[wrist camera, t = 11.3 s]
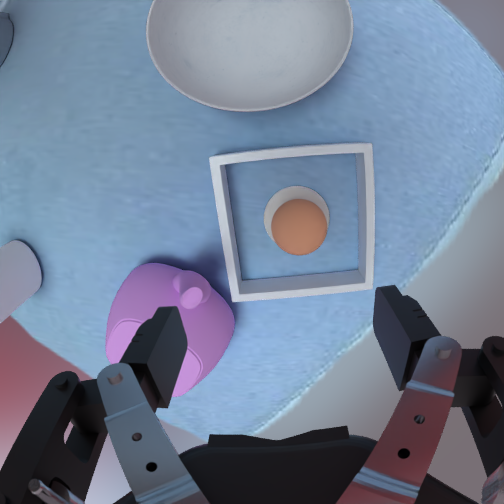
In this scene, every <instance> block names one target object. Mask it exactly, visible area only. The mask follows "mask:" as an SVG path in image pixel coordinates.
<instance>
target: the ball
mask: <svg viewBox="0 0 504 504" xmlns="http://www.w3.org/2000/svg"><path fill="white" fill-rule="evenodd" d="M271 231H272V236H273V238H274V240H275V242H276V244H277V245H278V246H279V247H280V248H281V249H282V250H284V251H285V252H287V253H290V254H293V255H306V254H309V253H311V252H313V251H315V250H316V249H318V248H319V247H320V245H321V244H322V243H323V241H324V239H325V237H326V234H327V221H326V217H325V215H324V213H323V211H322V210H321V209H320V208H319V207H318V206H317V205H316V204H315V203H313V202H311V201H309V200H305V199H293V200H289V201H287V202H285V203H284V204H282V205H281V206H280V207H279V208H278V209H277V210H276V212H275V213H274V215H273V218H272V222H271Z"/></svg>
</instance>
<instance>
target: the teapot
mask: <svg viewBox="0 0 504 504" xmlns="http://www.w3.org/2000/svg"><path fill="white" fill-rule="evenodd" d="M164 306H177V307H178V309H179V312H180V316H181V319H182V322H183V326H184V329H185V332H186V336H187V342H188V346H187V352H186V355H185V358H184V361H183V364H182V367H181V370H180V373H179V376H178V379H177V382H176V385H175V388H174V391H173V394H172V397H177V396H181V395H183V394H185V393H186V392H188V391H189V390H190V389H192V388H193V387H194V386H195V385H197V384H198V383H199V382H200V381H201V380H202V379H204V378H205V377H206V376H207V375H208V374H209V373H210V372H211V371H212V369H213V368H214V367H215V366H216V365H217V363H218V362H219V360H220V359H221V357H222V356H223V354H224V352H225V350H226V348H227V347H228V344H229V342H230V340H231V338H232V335H233V332H234V326H235V320H234V316H233V312H232V310H231V308H230V306H229V305H228V304H227V302H226V301H225V300H224V299H223V298H222V297H221V296H220V294H219V293H218V292H216V291H215V290H214V289H213V288H212V287H211V286H210V284H209V282H208V281H207V280H206V279H205V278H204V277H203V276H201V275H200V274H198V273H196V272H194V271H190V270H186V271H184V270H182V269H179V268H176V267H173V266H169V265H165V264H160V263H147V264H143V265H141V266H138V267H136V268H135V269H134V270H133V271H132V272H131V273H130V274H129V275H128V277H127V278H126V279H125V281H124V282H123V284H122V285H121V287H120V289H119V290H118V292H117V294H116V296H115V299H114V301H113V303H112V306H111V309H110V313H109V317H108V322H107V330H106V355H107V358H108V360H109V362H110V363H111V364H115V363H119V361H120V359H121V358H122V356H123V354H124V352H125V351H126V349H127V347H128V345H129V343H130V342H131V340H132V338H133V337H134V336H135V333H136V331H137V330H138V328H139V326H140V325H141V324H143V323H144V322H145V321H146V320H147V319H152V317H153V315H154V313H155V312H156V310H157V308H158V307H164Z"/></svg>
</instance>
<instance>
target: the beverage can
mask: <svg viewBox="0 0 504 504" xmlns="http://www.w3.org/2000/svg"><path fill="white" fill-rule="evenodd" d="M41 281H42V276H41V269H40V266H39V263H38V261H37V259H36V257H35V255H34V253H33V252H32V251H31V249H30V248H29V247H28V246H27V245H26V244H24V243H23V242H21V241H17V240H13V241H11V242H9V243H7V244H5V245H4V246H2V247H0V323H1V322H3V321H4V320H5V319H6V318H7V317H8V316H9V315H10V314H11V313H12V312H14V311H15V310H16V309H17V308H18V307H19V306H20V305H21V304H23V303H24V302H25V301H26V300H27V299H28V298H30V297H31V296H32V295H33V294H34V293H35V292H37V291H38V289H39V288H40V286H41Z"/></svg>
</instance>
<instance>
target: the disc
mask: <svg viewBox="0 0 504 504" xmlns="http://www.w3.org/2000/svg"><path fill="white" fill-rule="evenodd" d="M293 199H305V200H309V201H311V202H313V203H315V204H316V205H317V206H318V207H319V208H320V209H321V210H322V211H323V213H324V215H325V217H326V221H327V229H328V226H329V218H330V216H329V210H328V207H327V204H326V203H325V201H324V199H323V198H322V197H321V196H320V195H319V194H318V193H317V192H315V191H314V190H312V189H310V188H307V187H304V186H290V187H286V188H284V189H281V190H280V191H278V192H277V193H275V194H274V195H273V196H272V197H271V199H270V200H269V201H268V203H267V205H266V208H265V212H264V225H265V229H266V231H267V233H268V235H269V236H270V238H271V239H272V240H273V241H274V242H275V240H274V238H273V236H272V231H271V222H272V218H273V215H274V213H275V212H276V210H277V209H278V208H279V207H280V206H281V205H282V204H284V203H285V202H287V201H289V200H293ZM275 243H276V242H275Z"/></svg>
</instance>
